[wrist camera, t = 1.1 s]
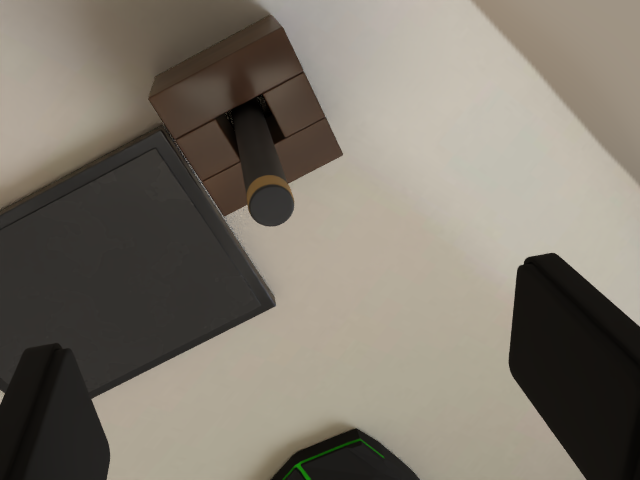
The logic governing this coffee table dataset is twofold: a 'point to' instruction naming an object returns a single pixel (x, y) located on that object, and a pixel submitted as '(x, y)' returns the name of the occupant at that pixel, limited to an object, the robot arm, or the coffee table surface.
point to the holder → (233, 90)
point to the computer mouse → (346, 461)
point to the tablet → (122, 266)
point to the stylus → (261, 167)
